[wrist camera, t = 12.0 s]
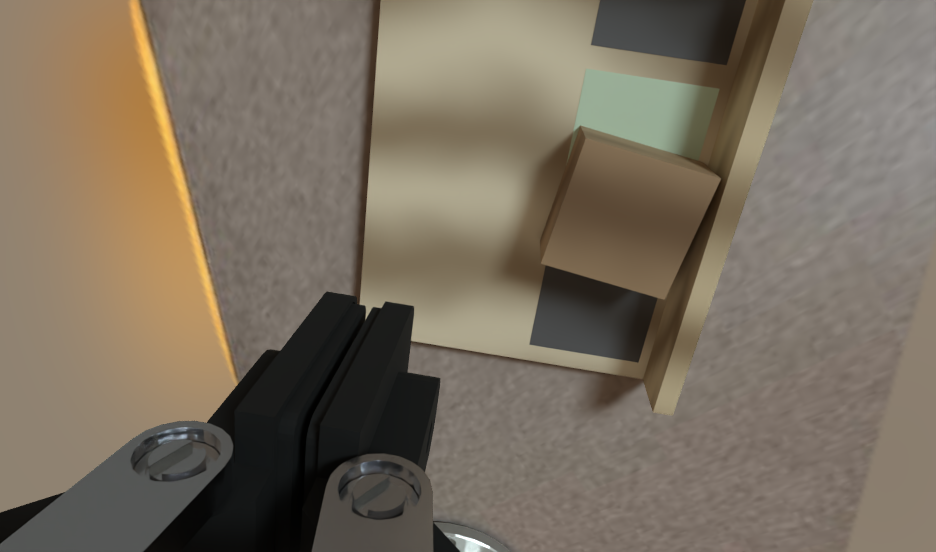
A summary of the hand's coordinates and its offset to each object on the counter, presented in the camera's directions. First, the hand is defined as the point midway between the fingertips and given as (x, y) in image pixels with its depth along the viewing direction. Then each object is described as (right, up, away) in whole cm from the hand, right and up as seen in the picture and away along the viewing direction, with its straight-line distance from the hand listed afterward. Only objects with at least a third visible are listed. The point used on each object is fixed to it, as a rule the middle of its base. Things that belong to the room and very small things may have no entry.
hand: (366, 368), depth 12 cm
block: (+9, +5, +18) cm, 21 cm away
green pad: (+10, +8, +18) cm, 22 cm away
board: (+6, +8, +19) cm, 21 cm away
